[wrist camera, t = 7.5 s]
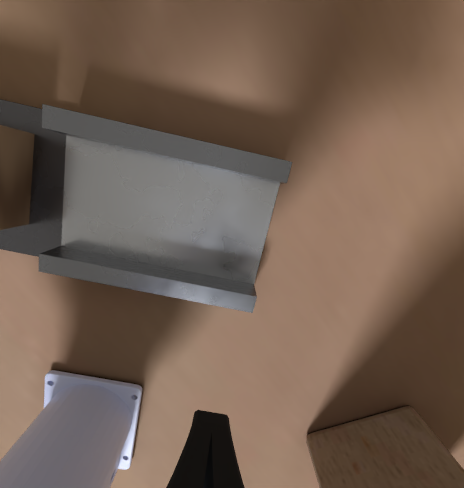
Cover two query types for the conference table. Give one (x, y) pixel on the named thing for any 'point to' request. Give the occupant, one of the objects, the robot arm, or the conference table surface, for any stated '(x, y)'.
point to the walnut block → (15, 176)
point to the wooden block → (383, 454)
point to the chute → (144, 207)
